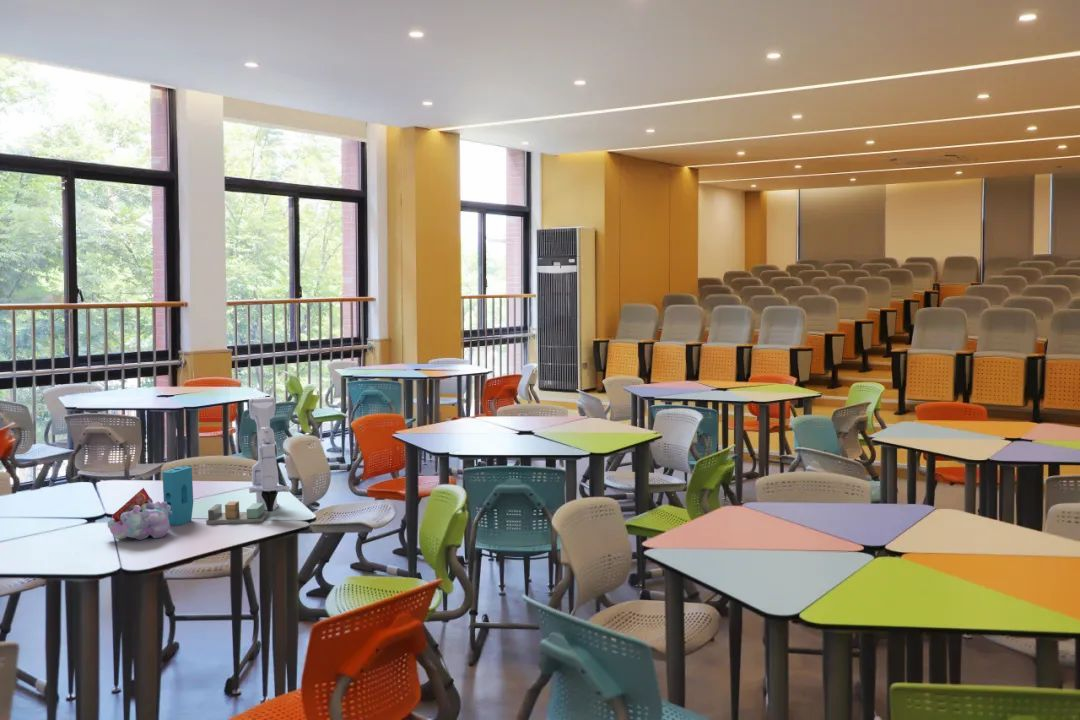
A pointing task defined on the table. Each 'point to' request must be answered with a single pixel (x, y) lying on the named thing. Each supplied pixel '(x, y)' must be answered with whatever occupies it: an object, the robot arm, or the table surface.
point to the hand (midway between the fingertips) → (270, 511)
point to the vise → (219, 518)
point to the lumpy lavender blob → (140, 518)
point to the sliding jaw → (255, 510)
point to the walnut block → (232, 509)
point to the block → (178, 494)
